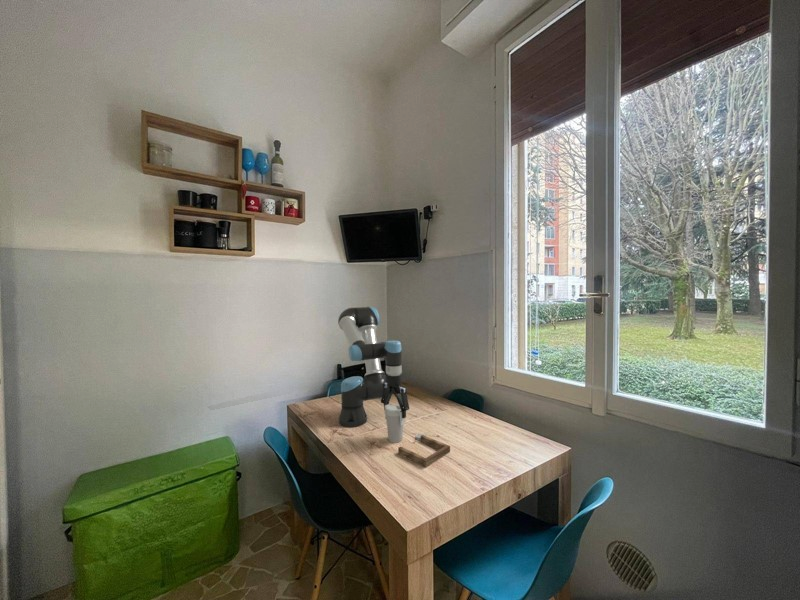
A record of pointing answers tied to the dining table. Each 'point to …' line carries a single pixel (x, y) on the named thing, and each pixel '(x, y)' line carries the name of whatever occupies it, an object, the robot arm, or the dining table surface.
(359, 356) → the robot arm
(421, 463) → the bracket
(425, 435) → the slate tile
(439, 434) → the dining table surface
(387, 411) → the coffee cup
